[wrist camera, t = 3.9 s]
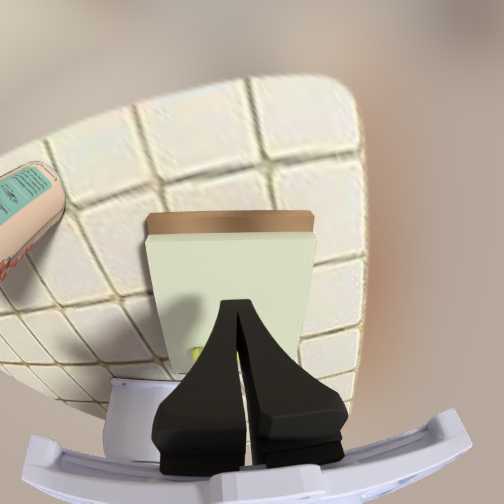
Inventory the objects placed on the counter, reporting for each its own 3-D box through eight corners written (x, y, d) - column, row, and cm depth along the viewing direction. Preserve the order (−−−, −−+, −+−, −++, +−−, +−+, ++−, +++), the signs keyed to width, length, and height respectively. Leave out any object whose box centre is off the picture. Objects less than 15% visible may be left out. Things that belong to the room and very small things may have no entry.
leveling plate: (174, 367, 23) (172, 387, 21) (148, 234, 17) (140, 252, 15) (290, 362, 24) (295, 382, 22) (312, 231, 18) (323, 248, 16)
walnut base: (176, 361, 24) (175, 369, 23) (150, 213, 17) (146, 219, 16) (287, 356, 25) (289, 365, 24) (310, 210, 18) (314, 216, 17)
